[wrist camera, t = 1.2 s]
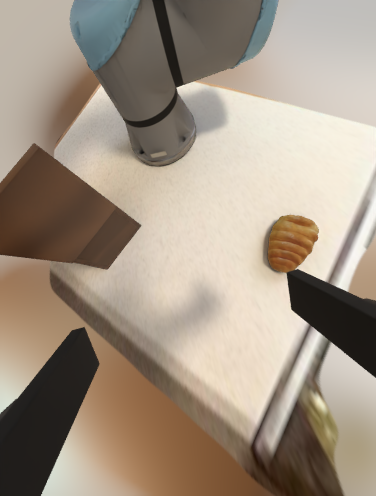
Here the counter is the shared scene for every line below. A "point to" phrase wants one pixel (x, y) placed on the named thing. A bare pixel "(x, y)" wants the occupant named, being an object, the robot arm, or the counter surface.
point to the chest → (109, 240)
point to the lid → (48, 210)
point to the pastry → (291, 242)
